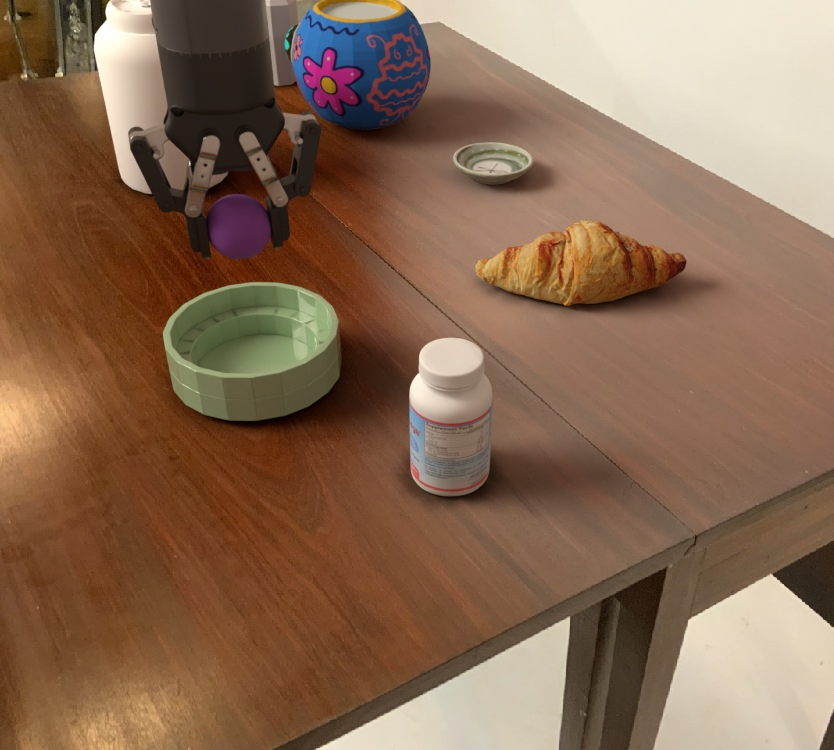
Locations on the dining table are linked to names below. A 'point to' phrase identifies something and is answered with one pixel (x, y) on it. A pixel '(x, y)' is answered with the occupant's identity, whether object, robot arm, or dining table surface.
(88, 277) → the dining table surface
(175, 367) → the bowl
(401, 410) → the dining table surface
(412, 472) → the pill bottle
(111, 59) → the white plastic jug
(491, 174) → the saucer
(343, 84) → the ceramic pot
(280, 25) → the faceted bottle
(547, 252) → the croissant
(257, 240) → the ball
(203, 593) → the dining table surface
